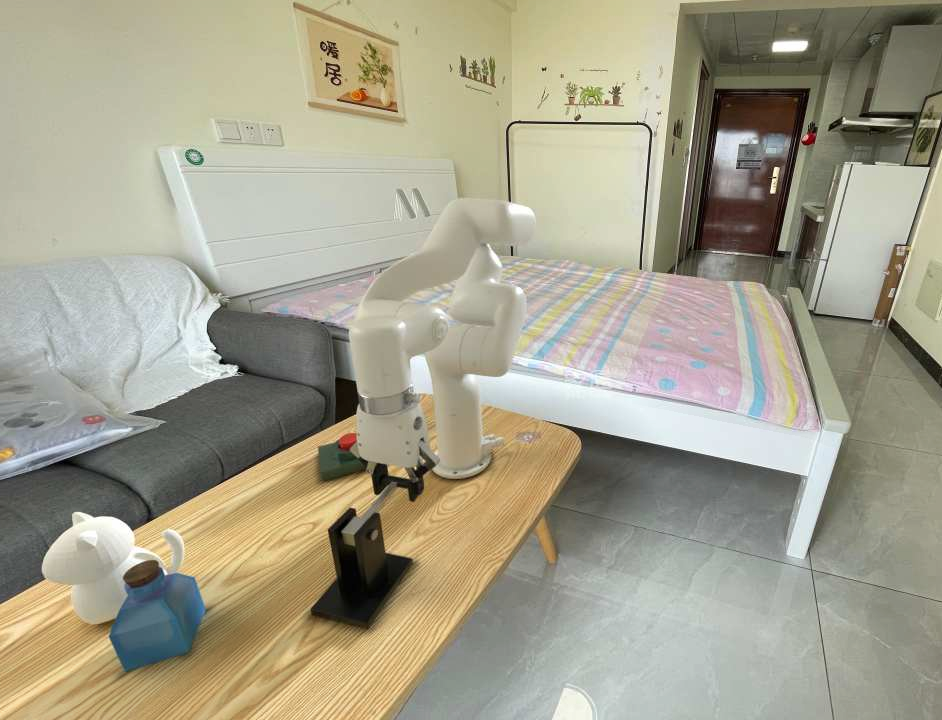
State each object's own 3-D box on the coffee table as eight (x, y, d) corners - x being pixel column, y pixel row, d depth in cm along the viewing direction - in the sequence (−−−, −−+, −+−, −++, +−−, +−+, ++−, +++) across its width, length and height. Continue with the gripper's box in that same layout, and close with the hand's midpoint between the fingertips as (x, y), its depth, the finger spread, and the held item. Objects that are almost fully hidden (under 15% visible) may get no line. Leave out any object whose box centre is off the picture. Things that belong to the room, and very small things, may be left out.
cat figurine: (68, 608, 61) (26, 523, 55) (186, 553, 70) (159, 476, 65) (72, 652, 55) (27, 563, 50) (199, 586, 64) (172, 505, 59)
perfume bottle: (124, 671, 53) (92, 600, 49) (148, 625, 59) (120, 558, 55) (188, 652, 56) (162, 583, 52) (205, 610, 61) (183, 544, 57)
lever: (386, 481, 73) (384, 470, 72) (416, 486, 72) (414, 475, 71) (333, 541, 62) (330, 529, 61) (368, 549, 61) (365, 536, 60)
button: (359, 437, 95) (358, 430, 95) (362, 447, 92) (361, 440, 92) (339, 442, 93) (337, 435, 93) (340, 452, 90) (339, 445, 90)
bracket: (363, 553, 71) (353, 489, 67) (413, 563, 70) (405, 500, 66) (311, 615, 61) (295, 545, 57) (368, 629, 60) (356, 559, 55)
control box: (379, 439, 101) (377, 424, 100) (386, 463, 93) (384, 447, 92) (319, 455, 95) (316, 439, 93) (322, 481, 87) (319, 465, 86)
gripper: (451, 392, 68) (458, 486, 74) (353, 378, 70) (367, 470, 77) (425, 417, 61) (435, 518, 67) (318, 401, 64) (337, 499, 70)
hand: (399, 491), depth 72 cm, fingers closed on lever, 5 cm apart
